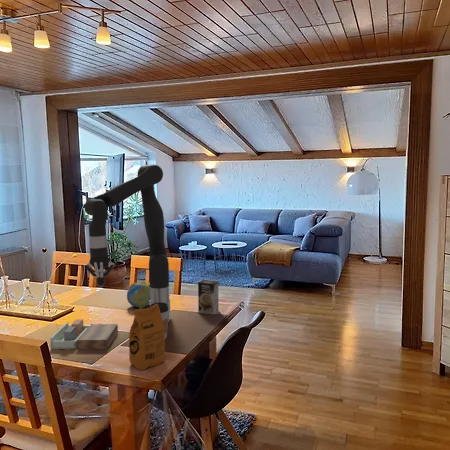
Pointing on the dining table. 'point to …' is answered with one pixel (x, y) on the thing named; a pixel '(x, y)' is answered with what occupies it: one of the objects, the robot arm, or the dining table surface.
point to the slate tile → (70, 334)
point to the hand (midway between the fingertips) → (101, 285)
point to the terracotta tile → (78, 326)
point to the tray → (58, 339)
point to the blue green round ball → (139, 295)
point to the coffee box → (208, 297)
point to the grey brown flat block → (98, 336)
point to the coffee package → (147, 338)
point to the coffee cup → (163, 315)
